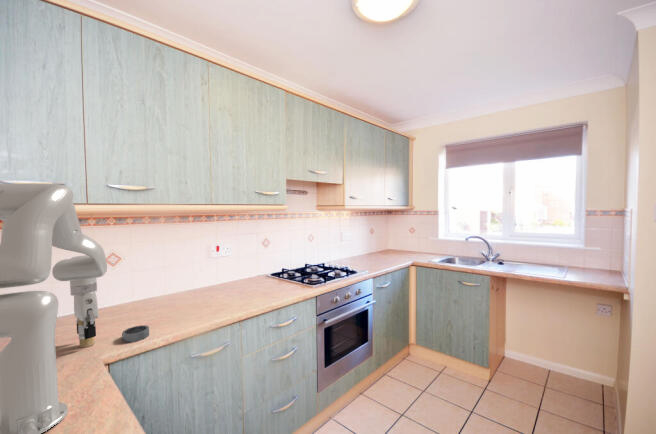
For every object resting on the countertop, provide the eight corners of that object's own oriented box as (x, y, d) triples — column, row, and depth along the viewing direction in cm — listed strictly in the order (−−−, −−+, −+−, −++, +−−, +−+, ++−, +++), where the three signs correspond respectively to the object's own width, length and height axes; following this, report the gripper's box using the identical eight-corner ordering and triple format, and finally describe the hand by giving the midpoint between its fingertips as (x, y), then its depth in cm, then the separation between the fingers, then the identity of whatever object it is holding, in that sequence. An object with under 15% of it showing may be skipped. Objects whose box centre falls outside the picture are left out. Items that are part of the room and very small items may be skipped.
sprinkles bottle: (97, 343, 108) (95, 308, 107) (83, 349, 103) (81, 312, 103) (90, 341, 110) (88, 307, 109) (76, 346, 105) (74, 311, 105)
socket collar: (153, 335, 113) (152, 328, 113) (128, 344, 106) (127, 336, 106) (143, 330, 118) (142, 323, 118) (119, 339, 111) (118, 331, 111)
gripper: (104, 289, 104) (107, 336, 105) (88, 283, 114) (90, 326, 114) (78, 295, 98) (81, 345, 98) (63, 288, 108) (66, 333, 108)
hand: (86, 334), depth 106 cm, fingers open, 7 cm apart
